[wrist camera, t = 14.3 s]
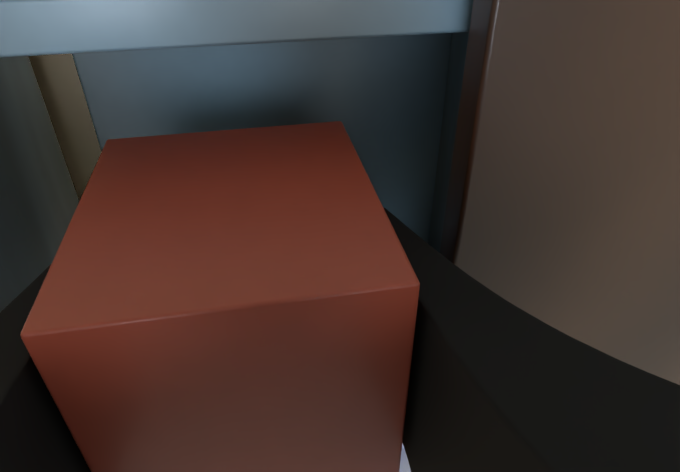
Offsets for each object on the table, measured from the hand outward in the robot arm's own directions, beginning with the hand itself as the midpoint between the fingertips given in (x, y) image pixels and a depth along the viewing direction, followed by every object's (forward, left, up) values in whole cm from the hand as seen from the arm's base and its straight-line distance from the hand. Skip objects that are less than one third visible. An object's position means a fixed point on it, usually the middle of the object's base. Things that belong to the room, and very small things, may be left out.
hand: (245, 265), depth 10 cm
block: (0, 0, -1) cm, 1 cm away
